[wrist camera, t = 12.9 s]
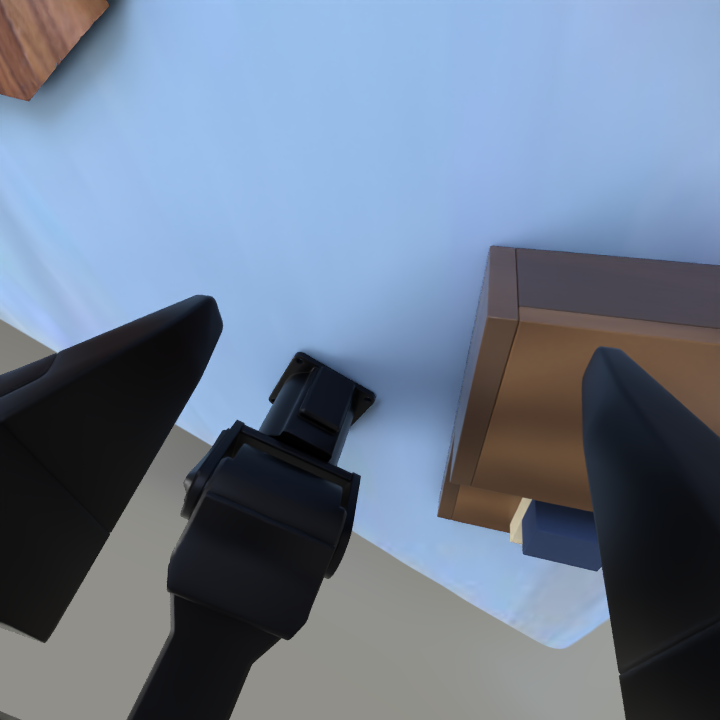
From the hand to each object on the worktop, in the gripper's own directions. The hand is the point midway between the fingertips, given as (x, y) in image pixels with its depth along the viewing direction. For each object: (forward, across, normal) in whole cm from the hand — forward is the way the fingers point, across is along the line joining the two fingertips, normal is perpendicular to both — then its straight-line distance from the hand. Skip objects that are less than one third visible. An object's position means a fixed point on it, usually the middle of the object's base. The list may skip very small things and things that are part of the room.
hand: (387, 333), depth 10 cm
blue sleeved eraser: (+10, -11, +21) cm, 26 cm away
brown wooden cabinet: (+12, -11, +15) cm, 22 cm away
